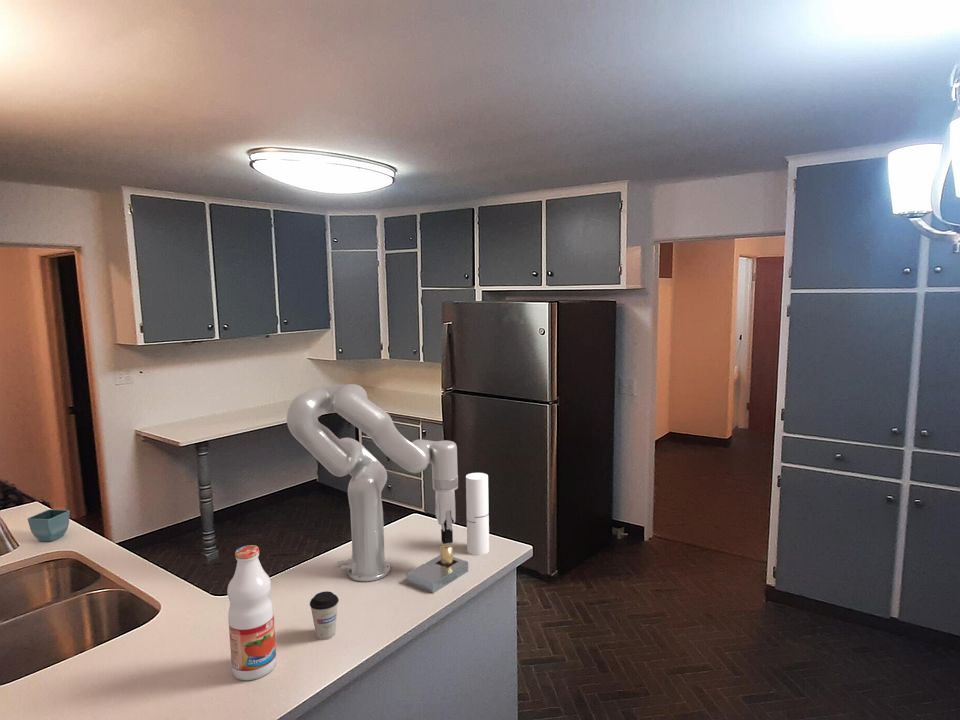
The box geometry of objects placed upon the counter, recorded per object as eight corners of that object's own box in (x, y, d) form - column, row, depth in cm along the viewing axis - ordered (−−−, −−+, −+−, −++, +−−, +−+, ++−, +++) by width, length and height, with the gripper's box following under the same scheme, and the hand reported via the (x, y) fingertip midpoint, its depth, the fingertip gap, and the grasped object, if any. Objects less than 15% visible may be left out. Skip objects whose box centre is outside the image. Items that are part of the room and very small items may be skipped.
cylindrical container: (489, 555, 188) (488, 479, 185) (466, 555, 188) (465, 479, 185) (489, 545, 195) (488, 472, 192) (467, 545, 195) (466, 472, 192)
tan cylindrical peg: (441, 575, 175) (440, 549, 174) (439, 569, 178) (439, 544, 177) (454, 574, 175) (453, 548, 174) (452, 568, 179) (451, 543, 178)
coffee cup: (309, 630, 147) (307, 592, 146) (337, 624, 150) (335, 586, 149) (313, 645, 141) (311, 606, 139) (342, 638, 143) (340, 599, 142)
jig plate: (433, 593, 164) (433, 583, 164) (407, 583, 170) (406, 573, 170) (468, 571, 177) (468, 561, 177) (442, 562, 183) (442, 553, 183)
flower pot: (28, 543, 202) (26, 518, 201) (51, 533, 211) (49, 509, 210) (51, 544, 201) (48, 519, 200) (72, 534, 210) (70, 510, 208)
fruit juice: (253, 651, 139) (246, 538, 135) (285, 660, 135) (278, 543, 132) (222, 676, 130) (214, 555, 127) (256, 685, 126) (248, 561, 123)
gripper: (429, 476, 180) (431, 533, 182) (435, 492, 166) (437, 554, 168) (453, 474, 182) (455, 531, 184) (462, 489, 167) (463, 551, 169)
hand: (447, 542), depth 176 cm, fingers closed
